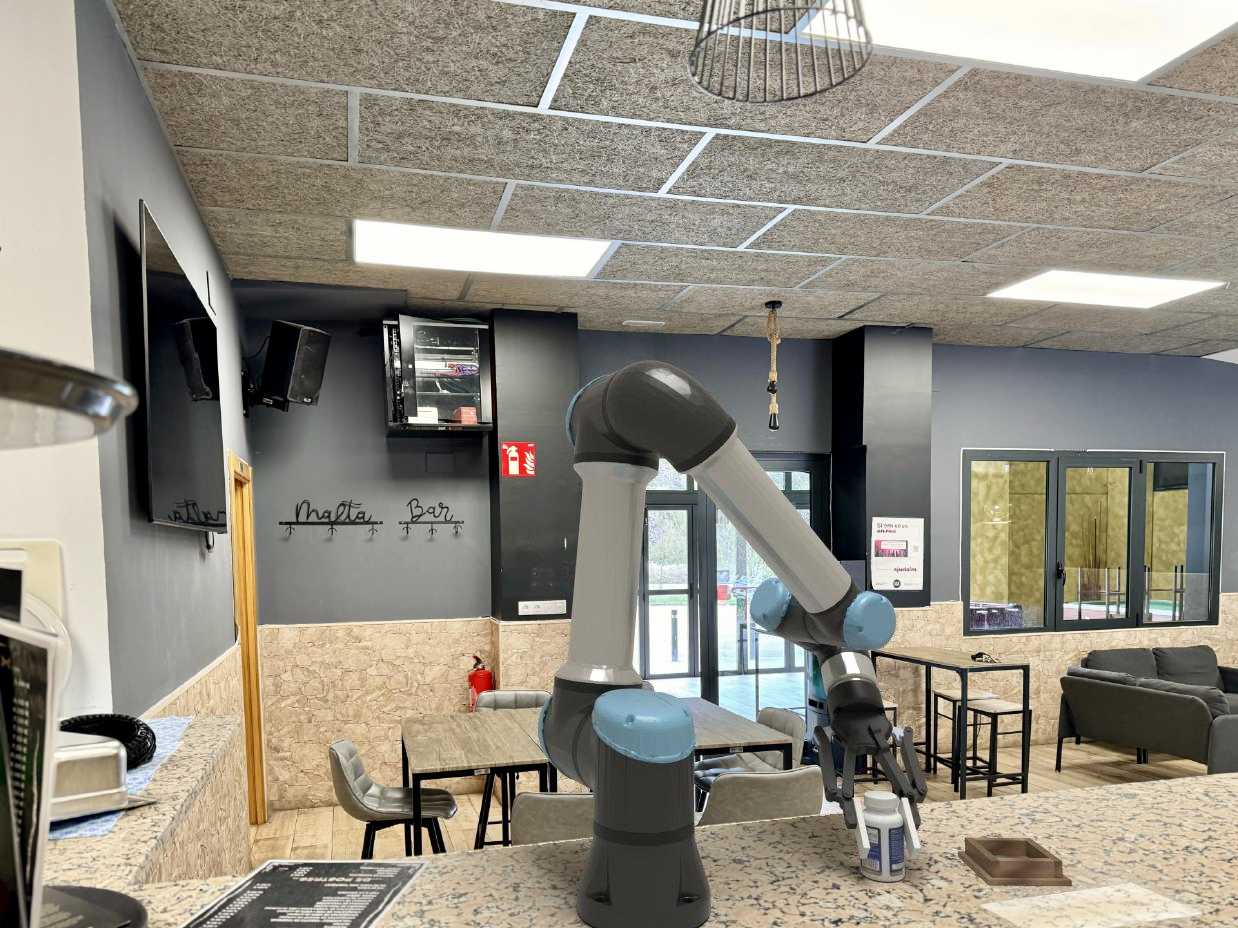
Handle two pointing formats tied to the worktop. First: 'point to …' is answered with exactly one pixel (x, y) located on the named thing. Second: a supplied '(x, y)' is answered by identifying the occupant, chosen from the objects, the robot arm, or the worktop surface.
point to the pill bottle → (883, 837)
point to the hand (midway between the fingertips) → (890, 852)
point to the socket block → (1013, 862)
